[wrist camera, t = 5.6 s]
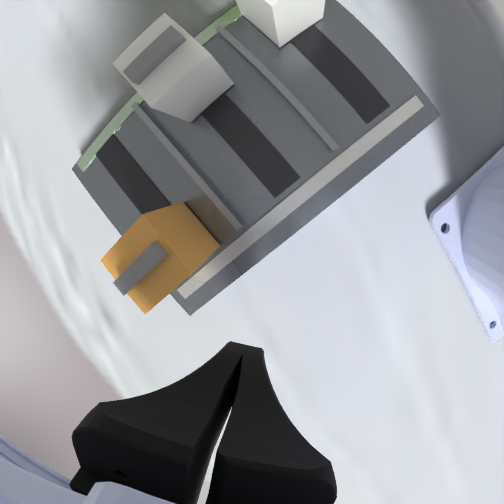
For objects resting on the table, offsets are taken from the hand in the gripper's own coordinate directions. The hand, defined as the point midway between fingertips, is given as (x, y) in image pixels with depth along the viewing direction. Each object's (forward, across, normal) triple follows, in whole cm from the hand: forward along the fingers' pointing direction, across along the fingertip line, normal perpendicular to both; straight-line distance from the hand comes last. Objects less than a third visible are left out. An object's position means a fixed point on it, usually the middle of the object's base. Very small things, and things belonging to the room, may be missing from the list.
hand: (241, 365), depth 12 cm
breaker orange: (+3, +4, -3) cm, 6 cm away
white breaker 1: (+3, +5, -11) cm, 12 cm away
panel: (+5, +2, -9) cm, 10 cm away
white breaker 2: (+3, +1, -15) cm, 15 cm away
